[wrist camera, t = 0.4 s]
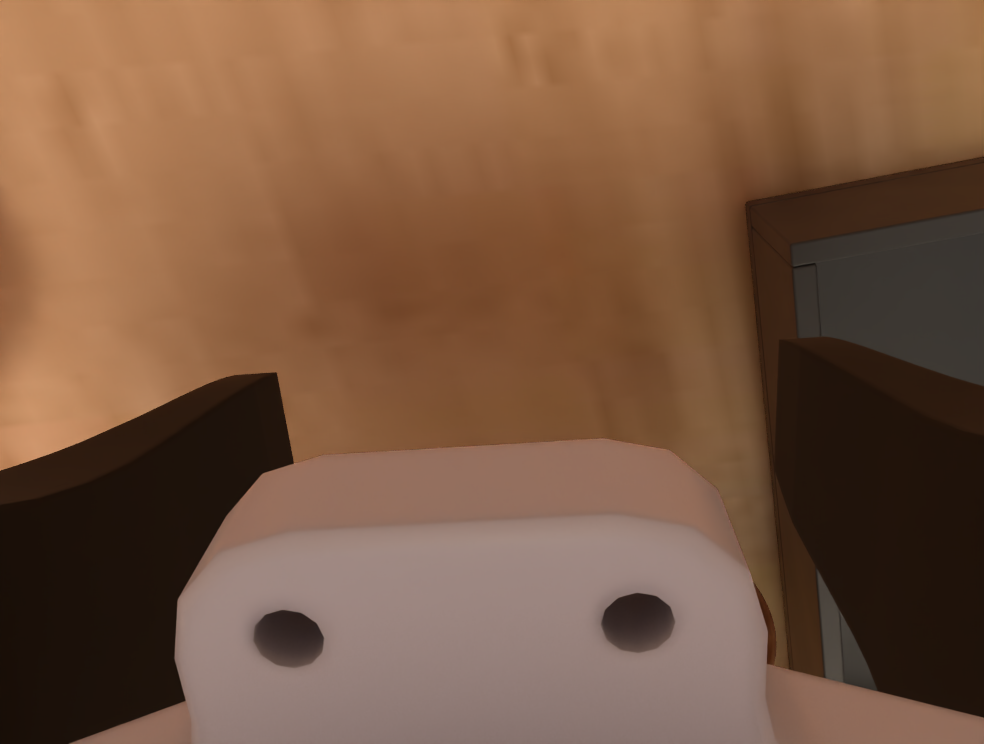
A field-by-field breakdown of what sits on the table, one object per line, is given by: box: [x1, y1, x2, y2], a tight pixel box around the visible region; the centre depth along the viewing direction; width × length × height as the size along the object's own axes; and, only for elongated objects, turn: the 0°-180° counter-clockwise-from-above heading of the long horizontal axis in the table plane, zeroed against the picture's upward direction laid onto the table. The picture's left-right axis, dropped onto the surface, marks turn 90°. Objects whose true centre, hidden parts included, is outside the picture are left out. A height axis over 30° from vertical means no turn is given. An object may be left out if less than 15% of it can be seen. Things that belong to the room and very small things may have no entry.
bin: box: [745, 157, 984, 691], centre depth 23 cm, size 18×8×4 cm, turn 11°
